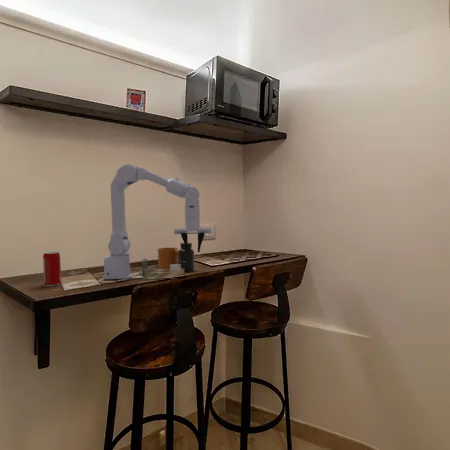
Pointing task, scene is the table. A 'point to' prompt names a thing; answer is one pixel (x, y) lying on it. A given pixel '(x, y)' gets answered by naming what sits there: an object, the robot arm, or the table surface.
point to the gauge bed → (158, 272)
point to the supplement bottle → (186, 258)
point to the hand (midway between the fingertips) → (193, 252)
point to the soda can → (51, 268)
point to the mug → (167, 257)
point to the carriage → (175, 267)
